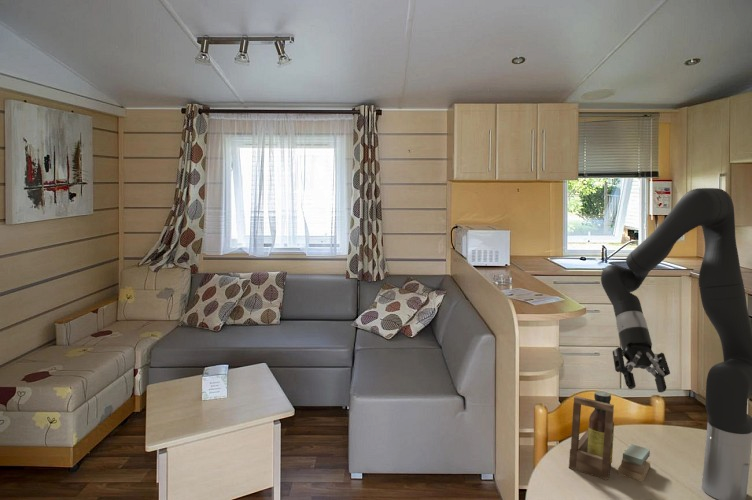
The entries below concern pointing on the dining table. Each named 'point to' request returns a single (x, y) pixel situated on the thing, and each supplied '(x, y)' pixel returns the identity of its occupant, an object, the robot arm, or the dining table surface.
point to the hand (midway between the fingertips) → (647, 389)
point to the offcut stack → (635, 462)
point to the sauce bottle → (598, 427)
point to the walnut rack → (579, 447)
